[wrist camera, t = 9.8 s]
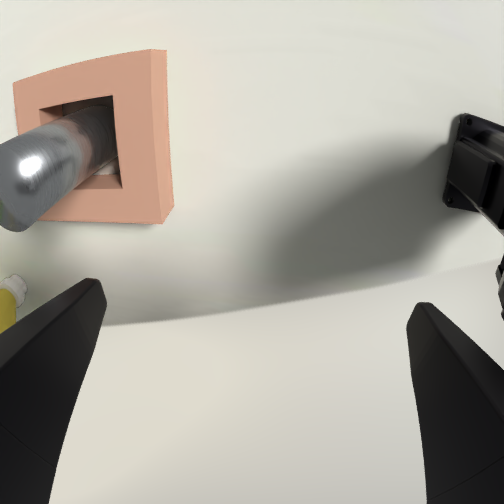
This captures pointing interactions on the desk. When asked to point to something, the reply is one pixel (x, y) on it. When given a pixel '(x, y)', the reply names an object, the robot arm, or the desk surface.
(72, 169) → the cylinder
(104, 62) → the socket
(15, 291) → the light bulb
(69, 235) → the desk surface
